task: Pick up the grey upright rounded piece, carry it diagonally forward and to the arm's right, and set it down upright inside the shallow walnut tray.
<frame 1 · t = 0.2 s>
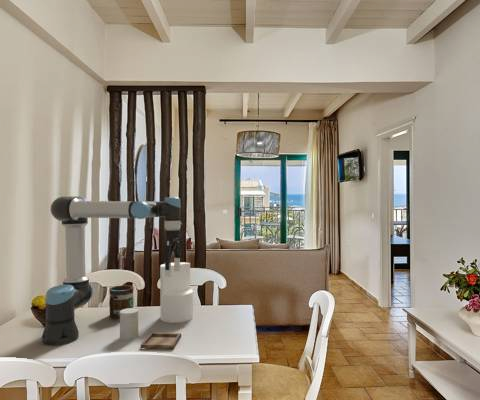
hand: (172, 274, 174), 27 cm above the table, fingers open, 13 cm apart
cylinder: (176, 317, 195), on the table
grey upright rounded piece: (129, 337, 167), on the table
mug: (119, 317, 195), on the table
tray: (161, 342, 160), on the table
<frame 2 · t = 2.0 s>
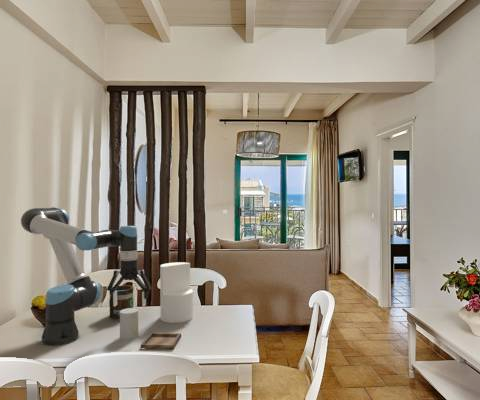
hand: (129, 305, 167), 14 cm above the table, fingers open, 13 cm apart
nothing on the table moved.
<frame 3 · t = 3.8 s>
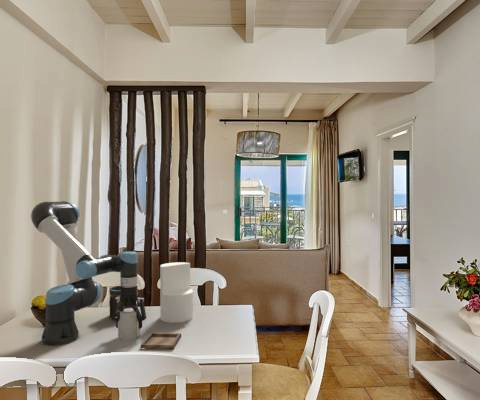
hand: (129, 335, 167), 1 cm above the table, fingers closed on grey upright rounded piece, 8 cm apart
grey upright rounded piece: (129, 337, 167), on the table, touching gripper
everything else where it was.
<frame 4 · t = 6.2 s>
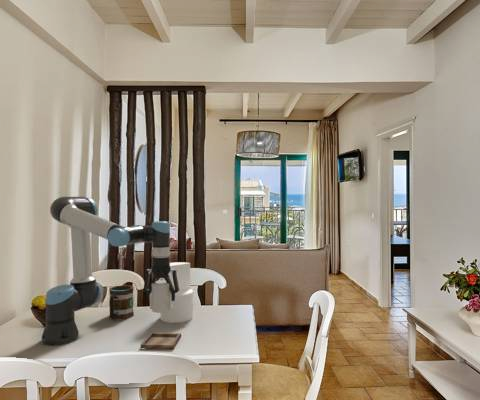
hand: (161, 308, 160), 15 cm above the table, fingers closed on grey upright rounded piece, 8 cm apart
grey upright rounded piece: (161, 310, 160), point 14 cm above the table, touching gripper
everything else where it was.
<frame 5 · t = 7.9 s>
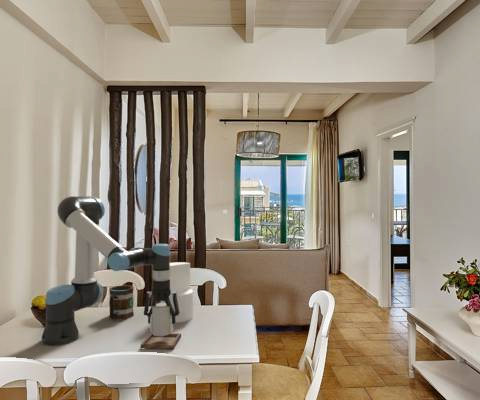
hand: (161, 330, 160), 5 cm above the table, fingers closed on grey upright rounded piece, 8 cm apart
grey upright rounded piece: (161, 333, 160), point 4 cm above the table, touching gripper
everything else where it was.
when the fingers open (3 cm above the table, at t = 8.9 s): grey upright rounded piece drops 1 cm, resting on tray.
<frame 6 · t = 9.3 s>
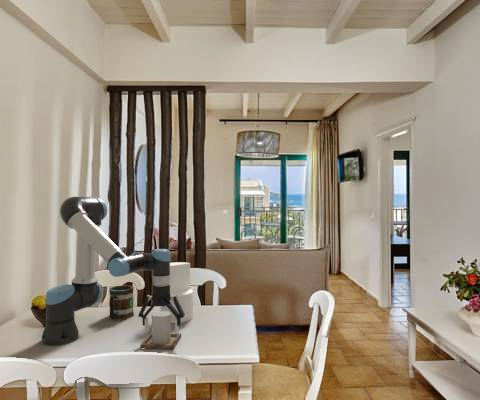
hand: (161, 333, 160), 4 cm above the table, fingers open, 13 cm apart
grey upright rounded piece: (161, 341, 160), resting on tray
everything else where it was.
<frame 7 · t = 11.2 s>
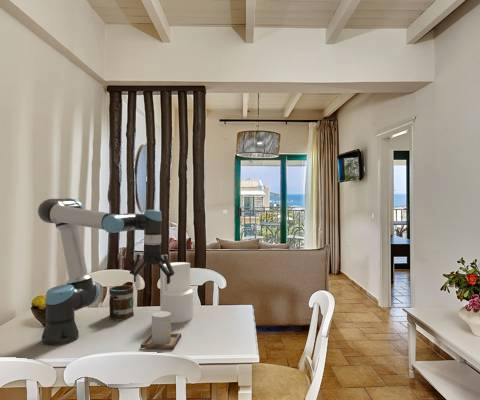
hand: (151, 290, 166), 22 cm above the table, fingers open, 13 cm apart
nothing on the table moved.
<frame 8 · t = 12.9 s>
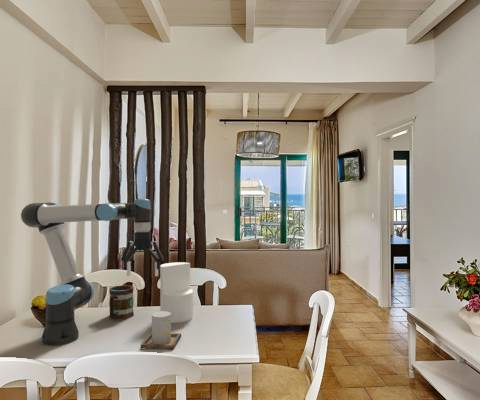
hand: (142, 275, 174), 27 cm above the table, fingers open, 13 cm apart
nothing on the table moved.
at the end: grey upright rounded piece inside the target area on the tray (0.1 cm from its centre), point 0.4 cm above the tray's base; grey upright rounded piece tilted 0°; the gripper is holding nothing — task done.
